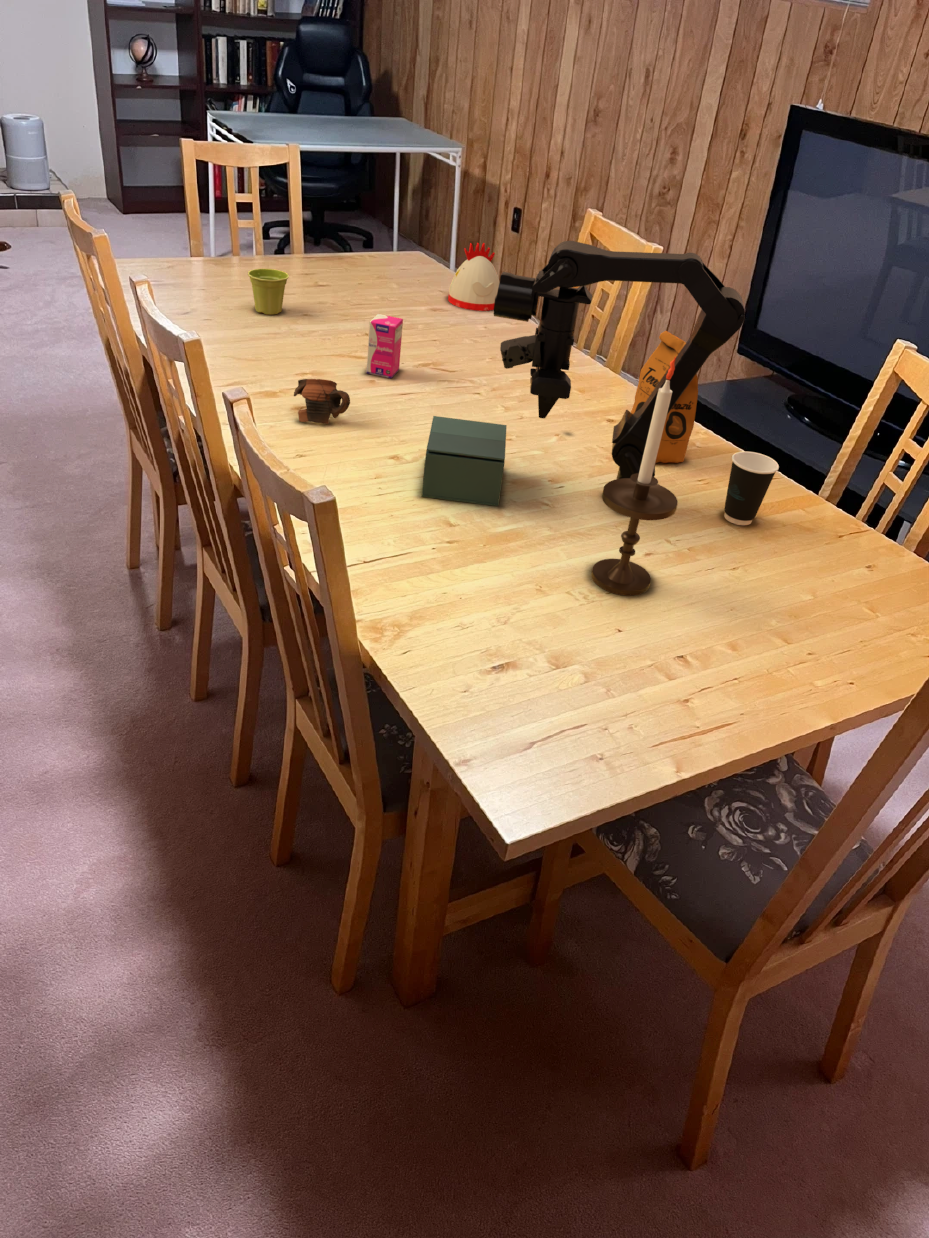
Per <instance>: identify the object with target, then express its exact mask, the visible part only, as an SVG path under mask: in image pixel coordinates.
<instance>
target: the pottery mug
mask: <svg viewBox="0 0 929 1238" xmlns="http://www.w3.org/2000/svg"><path fill="white" fill-rule="evenodd" d="M337 385H338V384H337V382H336V381H334V380H329V379H323V378H302V379H299V380H297V387H296V388H295V389H294V392H293V397H296V396H297V395H300V396H302V398H303V399H304V402H305V407H306V408H303V409H298V411H297V415H298V421H299V423H300V422H302V423H303V422H304V423H307V422H308V423H314V424H323V425H324V424H325V425H328V424H329V422H330V418H331V416H332V418H333V419H337V418H338V417H340V415H343V414H344V413H345V412H346V411H347V410H348V409H349V407H350V404H351V397H350V395H349V393H348V392H346V391H344V390H341V389H339V390H338V389H337Z"/></svg>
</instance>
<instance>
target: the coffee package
mask: <svg viewBox="0 0 929 1238" xmlns="http://www.w3.org/2000/svg"><path fill="white" fill-rule="evenodd" d="M658 339H659V340H660V343H659V344H658V346H657V347H656V348H655V349H654V351H653V352H652V353H651V355H650V356H649V358H648V359H647V361H646V362H645V363H644V365H643V367H642V368H641V369H640V372H639V378H638V384H637V387H636V391H635V394H634V402H633V405H632V407H631V410H630V412H631V413H632V414H634V413H635V412H636V411H638V410H639V409H640V408H641V407H642V406H643V405H644V403H645V402H646V400H647V399H648V398H649V396H650V395H651V393H652V392H653V390H654V389H655V387H656V386H657V384H658V383H659V382H660V380H661V379H662V377H663V376H664V374H665V373H666V371H667V370H668V369H669V367H670V362H671V361H673V360H674V358H675V357H677V356H678V354H679V353H680V351H681V350H682V348H683V347H684V345H685V344H686V342H687V341H685V340H683V339H682V338H680V337H678V336H676V335H675V334H673V333H671V332H669V331H667V330H664V331H663V332H661V333H660V334H659V335H658ZM698 398H699V378H698V373H697V374H696V375H695V376H694V378H693V379H692V381H691V382H690V383H689V385H688V386H687V388H686V389H685V391H684V392H683V393H682V395H681V396H680V398H679V399H678V400H677V402H676V403H675V405H674V406H673V407H672V409H671V410H670V412H669V413H668V414H667V416H666V420H665V424H664V428H663V433H662V437H661V441H660V445H659V449H658V453H657V457H656V461H655V464H657V463H663V464H666V463H673V464H674V463H675V464H678V463H683V462H685V459H686V458H685V457H686V454H687V450H688V447H689V441H690V438H691V435H692V432H693V430H694V428H695V427H694V426H695V419H696V412H697V406H698V405H697V403H698Z"/></svg>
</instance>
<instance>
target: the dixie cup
mask: <svg viewBox="0 0 929 1238" xmlns="http://www.w3.org/2000/svg"><path fill="white" fill-rule="evenodd" d="M731 461H732V462H731V468H730V472H729V473H730V474H729V480H728V485H727V491H726V497H725V502H724V508H723V511H724V516H723V517H724V519H725V520H726V521H728V522H729V523H731V524H734V525H738V526H748V525H751V524H752V523H753V520H754V519H755V518H756V516H757V514H758V512H759V509H760V507H761V505H762V503H763V501H764V498H765V496H766V494H767V492H768V490H769V487H770V485H771V484H772V481H773V479H774V477H775V474H776V472H778V471H779V468H780V466H779V464H778V462H777V461H776V460H775V459H774V458H772V457H770V456H768V455H765V454H762V453H760V452H755V451H746V450H745V451H738V452H735V453H733V454H732V455H731Z"/></svg>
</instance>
